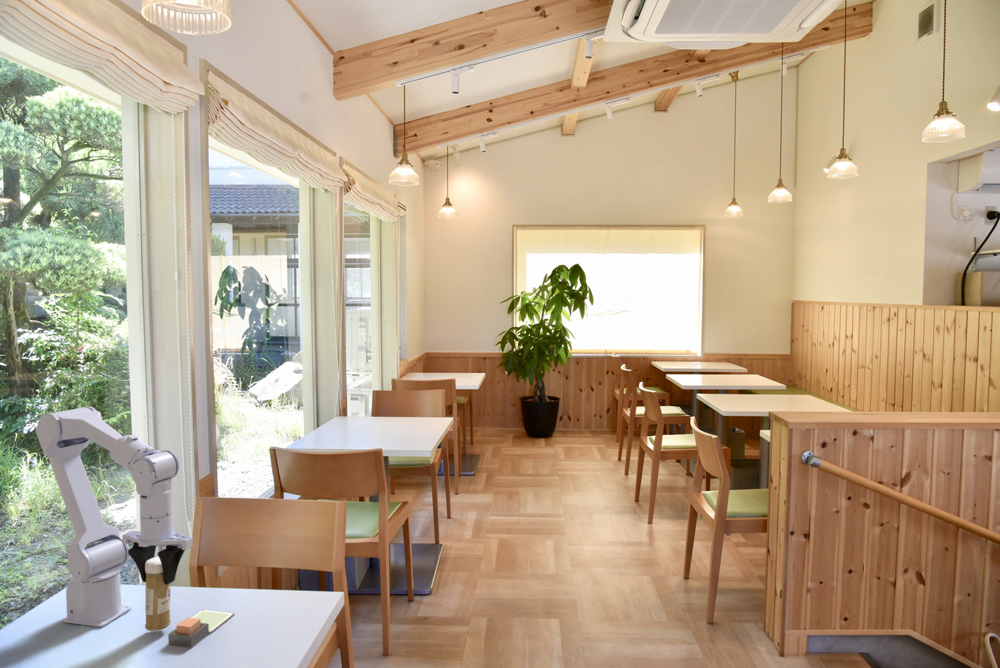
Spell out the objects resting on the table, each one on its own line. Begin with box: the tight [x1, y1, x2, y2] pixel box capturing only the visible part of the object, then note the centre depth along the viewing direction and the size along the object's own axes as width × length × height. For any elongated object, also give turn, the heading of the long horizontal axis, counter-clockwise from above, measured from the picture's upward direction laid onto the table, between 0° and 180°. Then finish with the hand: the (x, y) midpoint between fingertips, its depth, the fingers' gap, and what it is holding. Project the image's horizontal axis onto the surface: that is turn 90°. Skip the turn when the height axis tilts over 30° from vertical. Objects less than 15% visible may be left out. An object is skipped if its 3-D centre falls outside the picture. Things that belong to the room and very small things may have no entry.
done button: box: [175, 617, 201, 635], centre depth 122 cm, size 3×3×2 cm
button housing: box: [167, 623, 210, 649], centre depth 123 cm, size 5×5×2 cm
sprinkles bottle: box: [144, 556, 171, 632], centre depth 125 cm, size 5×5×14 cm
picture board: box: [191, 609, 235, 635], centre depth 129 cm, size 8×8×1 cm
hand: (158, 581), depth 125 cm, fingers closed on sprinkles bottle, 4 cm apart
